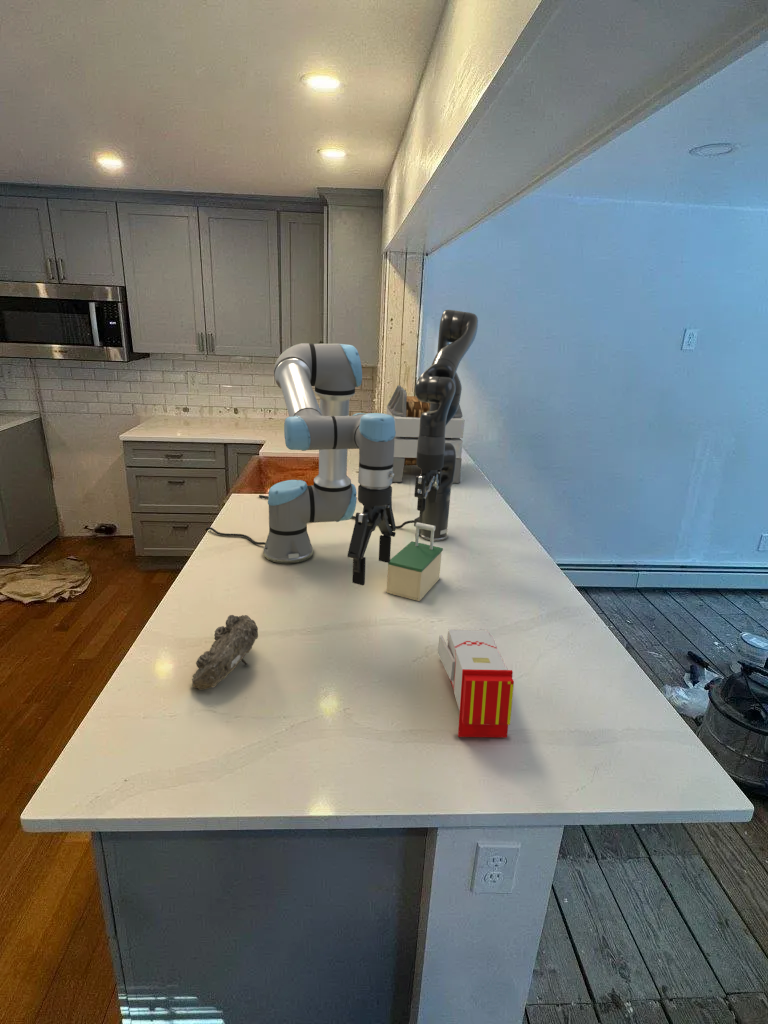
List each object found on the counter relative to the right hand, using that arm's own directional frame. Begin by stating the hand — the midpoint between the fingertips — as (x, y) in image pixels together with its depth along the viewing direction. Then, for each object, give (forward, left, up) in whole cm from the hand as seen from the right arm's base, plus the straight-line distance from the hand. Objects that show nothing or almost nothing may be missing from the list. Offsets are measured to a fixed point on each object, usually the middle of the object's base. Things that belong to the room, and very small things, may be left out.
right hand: (426, 506), depth 161 cm
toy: (+36, -39, -22) cm, 58 cm away
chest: (+1, -6, -22) cm, 23 cm away
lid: (+1, -6, -14) cm, 15 cm away
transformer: (-61, +96, -22) cm, 116 cm away
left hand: (+7, -35, -6) cm, 36 cm away
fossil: (-10, -64, -22) cm, 68 cm away
